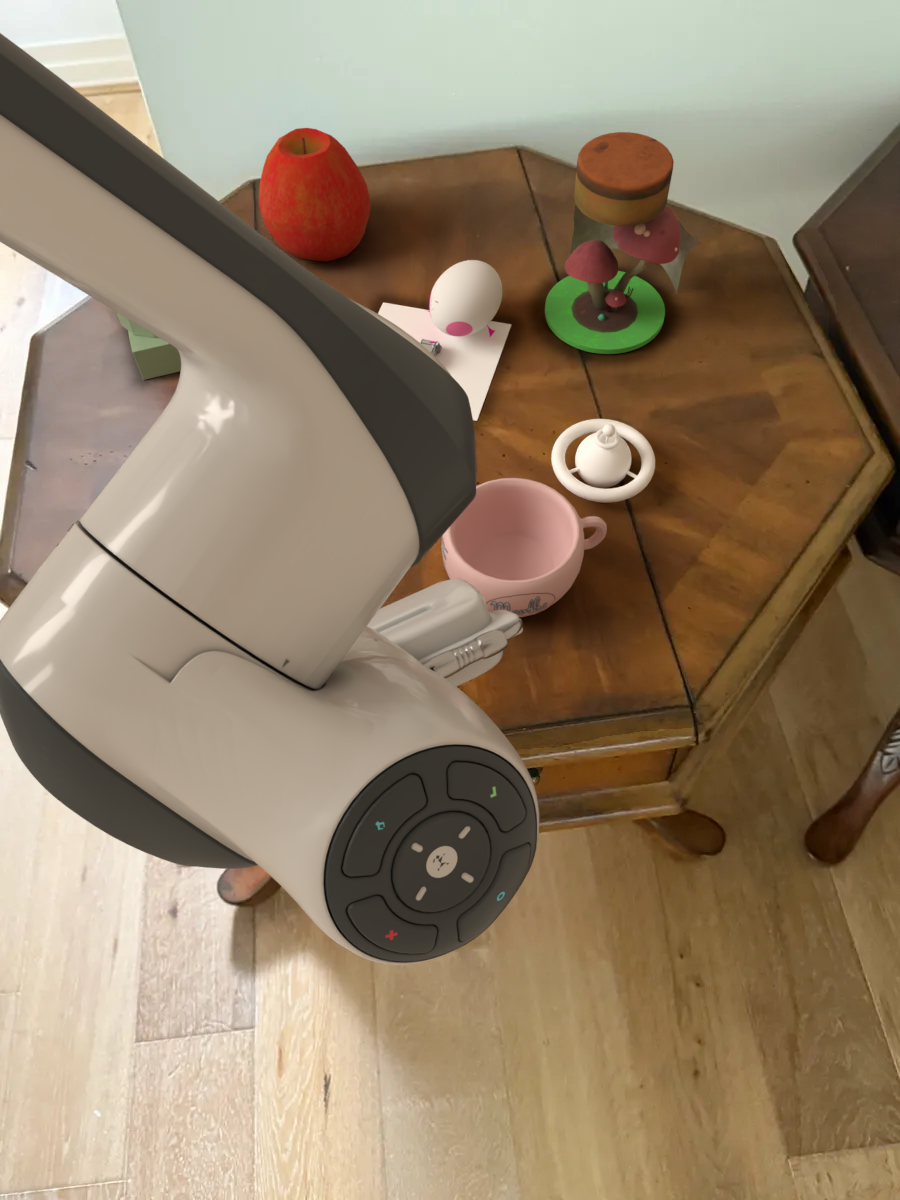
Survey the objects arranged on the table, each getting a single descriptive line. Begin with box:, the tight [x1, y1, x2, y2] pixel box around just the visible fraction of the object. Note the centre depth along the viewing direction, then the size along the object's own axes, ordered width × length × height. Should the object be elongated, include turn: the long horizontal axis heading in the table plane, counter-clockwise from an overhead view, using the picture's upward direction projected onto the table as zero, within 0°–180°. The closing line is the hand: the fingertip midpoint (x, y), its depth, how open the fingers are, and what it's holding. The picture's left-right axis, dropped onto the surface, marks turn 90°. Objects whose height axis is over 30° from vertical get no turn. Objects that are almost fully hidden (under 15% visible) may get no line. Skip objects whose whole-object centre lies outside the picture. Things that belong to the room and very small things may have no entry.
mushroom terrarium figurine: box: [544, 131, 702, 355], centre depth 80 cm, size 12×13×15 cm
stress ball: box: [428, 259, 503, 337], centre depth 84 cm, size 8×8×7 cm
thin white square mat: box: [377, 302, 512, 422], centre depth 83 cm, size 12×12×2 cm
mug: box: [440, 477, 608, 618], centre depth 69 cm, size 12×10×6 cm
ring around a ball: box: [550, 418, 656, 504], centre depth 74 cm, size 8×6×8 cm
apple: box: [258, 127, 371, 262], centre depth 89 cm, size 10×10×10 cm
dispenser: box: [115, 311, 181, 381], centre depth 84 cm, size 12×9×5 cm
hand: (285, 661), depth 56 cm, fingers open, 8 cm apart
